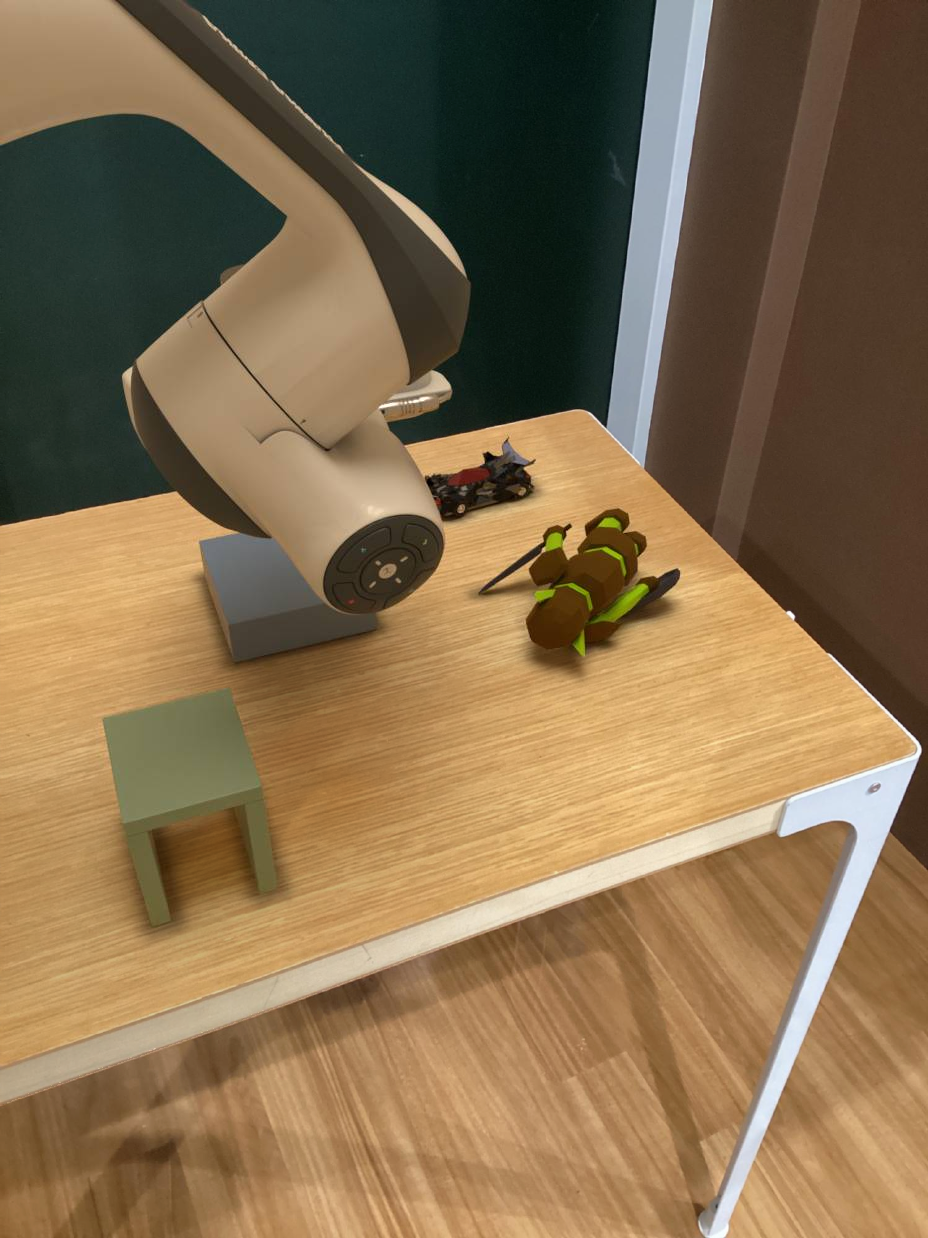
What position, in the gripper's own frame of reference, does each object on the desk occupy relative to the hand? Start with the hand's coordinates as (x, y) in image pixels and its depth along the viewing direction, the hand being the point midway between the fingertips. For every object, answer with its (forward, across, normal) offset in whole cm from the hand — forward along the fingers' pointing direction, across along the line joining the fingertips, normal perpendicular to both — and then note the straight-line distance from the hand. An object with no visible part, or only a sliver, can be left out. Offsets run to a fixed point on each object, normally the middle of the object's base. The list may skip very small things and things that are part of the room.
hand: (257, 338), depth 77 cm
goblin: (-11, -22, +24) cm, 34 cm away
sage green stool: (-25, +12, +24) cm, 36 cm away
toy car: (+9, -21, +24) cm, 33 cm away
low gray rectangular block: (-1, 0, +24) cm, 24 cm away
